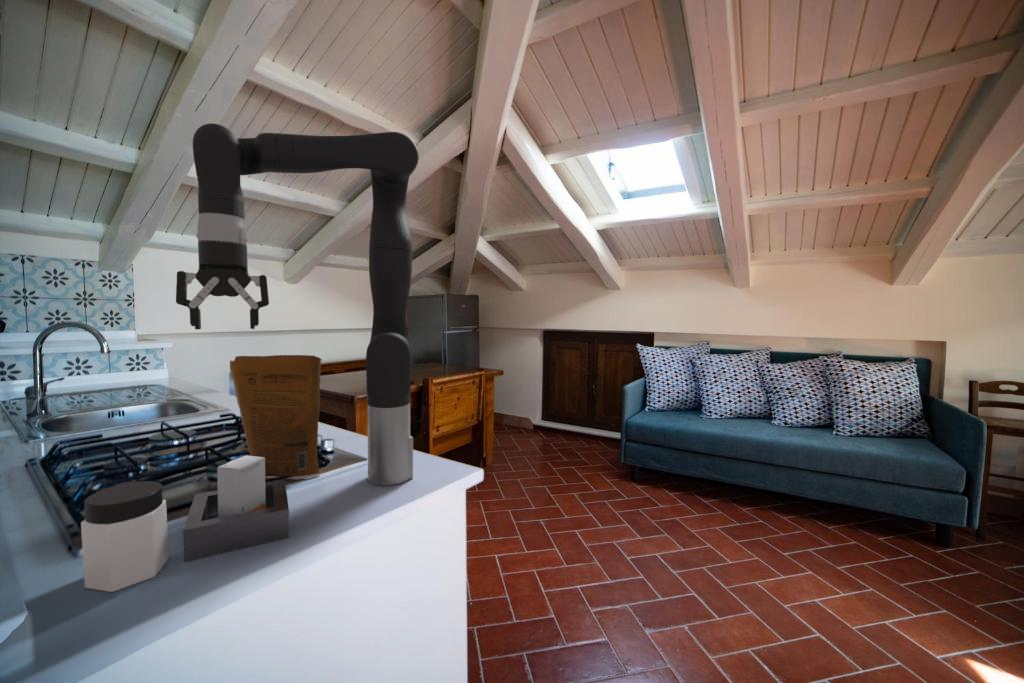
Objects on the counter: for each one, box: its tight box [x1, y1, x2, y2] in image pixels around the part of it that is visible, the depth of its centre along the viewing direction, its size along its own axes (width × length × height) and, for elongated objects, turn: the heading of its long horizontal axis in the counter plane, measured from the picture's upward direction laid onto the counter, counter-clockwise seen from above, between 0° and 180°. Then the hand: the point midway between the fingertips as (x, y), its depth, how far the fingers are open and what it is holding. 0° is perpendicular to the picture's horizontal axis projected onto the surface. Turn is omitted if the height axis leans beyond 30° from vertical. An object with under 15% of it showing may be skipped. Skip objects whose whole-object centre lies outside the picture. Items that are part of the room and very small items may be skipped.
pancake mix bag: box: [229, 354, 322, 476], centre depth 94 cm, size 7×19×28 cm, turn 87°
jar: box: [80, 480, 170, 593], centre depth 60 cm, size 9×8×12 cm
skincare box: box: [216, 454, 266, 518], centre depth 72 cm, size 6×4×12 cm
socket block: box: [182, 479, 290, 563], centre depth 72 cm, size 14×14×5 cm
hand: (225, 328), depth 79 cm, fingers open, 8 cm apart
